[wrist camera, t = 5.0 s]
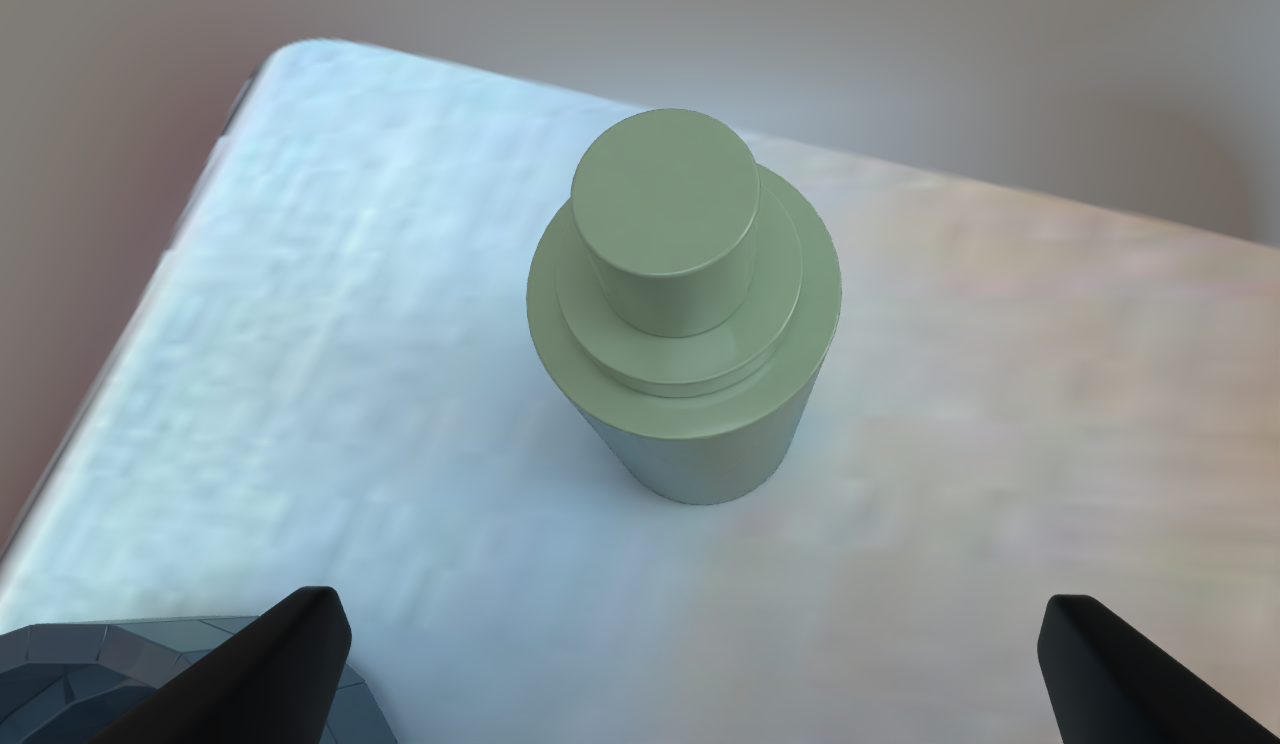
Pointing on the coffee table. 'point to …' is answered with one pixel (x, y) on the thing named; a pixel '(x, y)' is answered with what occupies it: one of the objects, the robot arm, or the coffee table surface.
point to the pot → (132, 677)
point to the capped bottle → (685, 304)
